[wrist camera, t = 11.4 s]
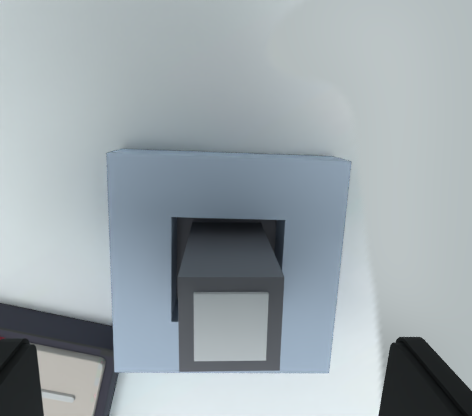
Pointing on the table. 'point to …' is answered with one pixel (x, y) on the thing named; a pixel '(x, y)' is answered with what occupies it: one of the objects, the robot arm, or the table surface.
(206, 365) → the block
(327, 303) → the outlet plate
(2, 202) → the table surface
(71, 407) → the calculator
